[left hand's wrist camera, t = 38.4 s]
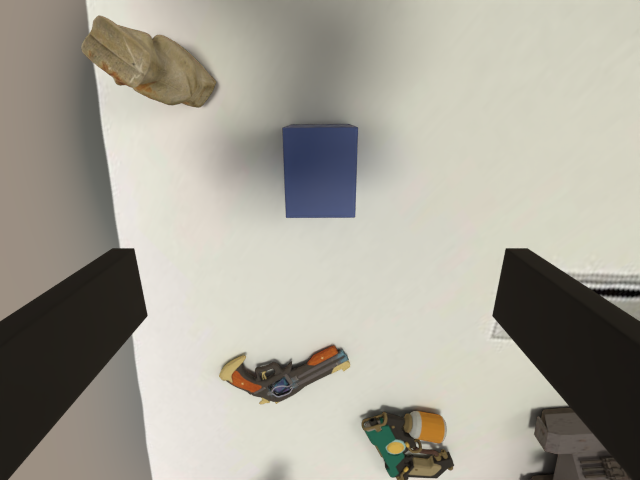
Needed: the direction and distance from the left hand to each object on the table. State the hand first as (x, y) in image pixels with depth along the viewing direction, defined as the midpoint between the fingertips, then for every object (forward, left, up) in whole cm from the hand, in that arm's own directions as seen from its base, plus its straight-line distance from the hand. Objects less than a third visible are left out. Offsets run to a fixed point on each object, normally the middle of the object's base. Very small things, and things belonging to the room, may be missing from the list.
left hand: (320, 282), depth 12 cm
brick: (0, 0, -34) cm, 34 cm away
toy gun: (+32, -4, -34) cm, 47 cm away
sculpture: (-9, -16, -34) cm, 39 cm away
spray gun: (+47, +18, -34) cm, 61 cm away
